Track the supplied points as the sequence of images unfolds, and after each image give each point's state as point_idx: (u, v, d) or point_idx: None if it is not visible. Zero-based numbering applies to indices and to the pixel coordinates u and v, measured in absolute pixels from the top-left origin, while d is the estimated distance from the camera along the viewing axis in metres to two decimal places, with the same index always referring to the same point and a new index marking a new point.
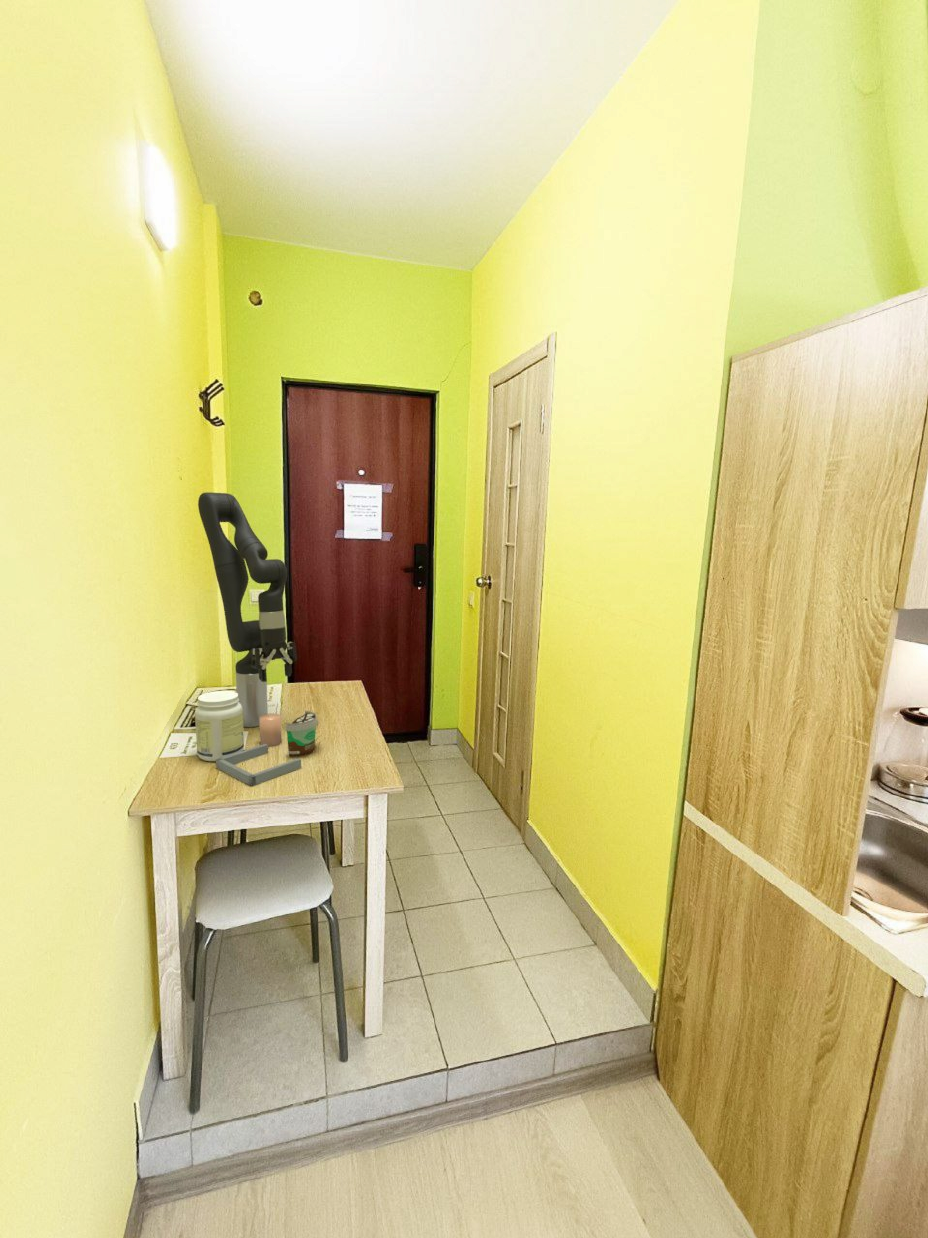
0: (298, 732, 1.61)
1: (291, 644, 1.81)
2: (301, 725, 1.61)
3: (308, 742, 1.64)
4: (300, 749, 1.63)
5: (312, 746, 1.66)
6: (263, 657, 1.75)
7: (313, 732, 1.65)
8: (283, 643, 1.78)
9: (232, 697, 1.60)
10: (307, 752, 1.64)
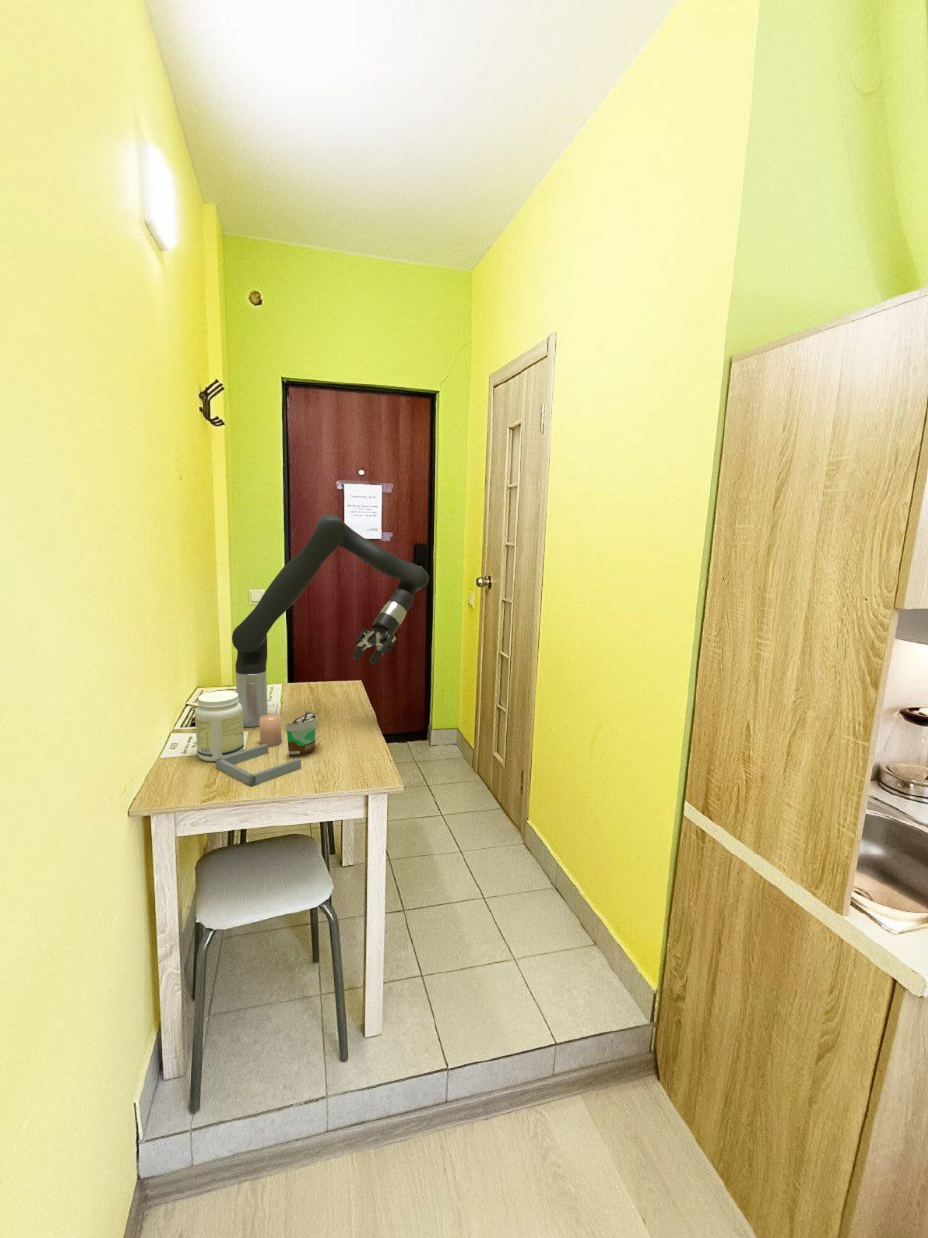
0: (298, 732, 1.61)
1: None
2: (301, 725, 1.61)
3: (308, 742, 1.64)
4: (300, 749, 1.63)
5: (312, 746, 1.66)
6: None
7: (313, 732, 1.65)
8: None
9: (232, 697, 1.60)
10: (307, 752, 1.64)
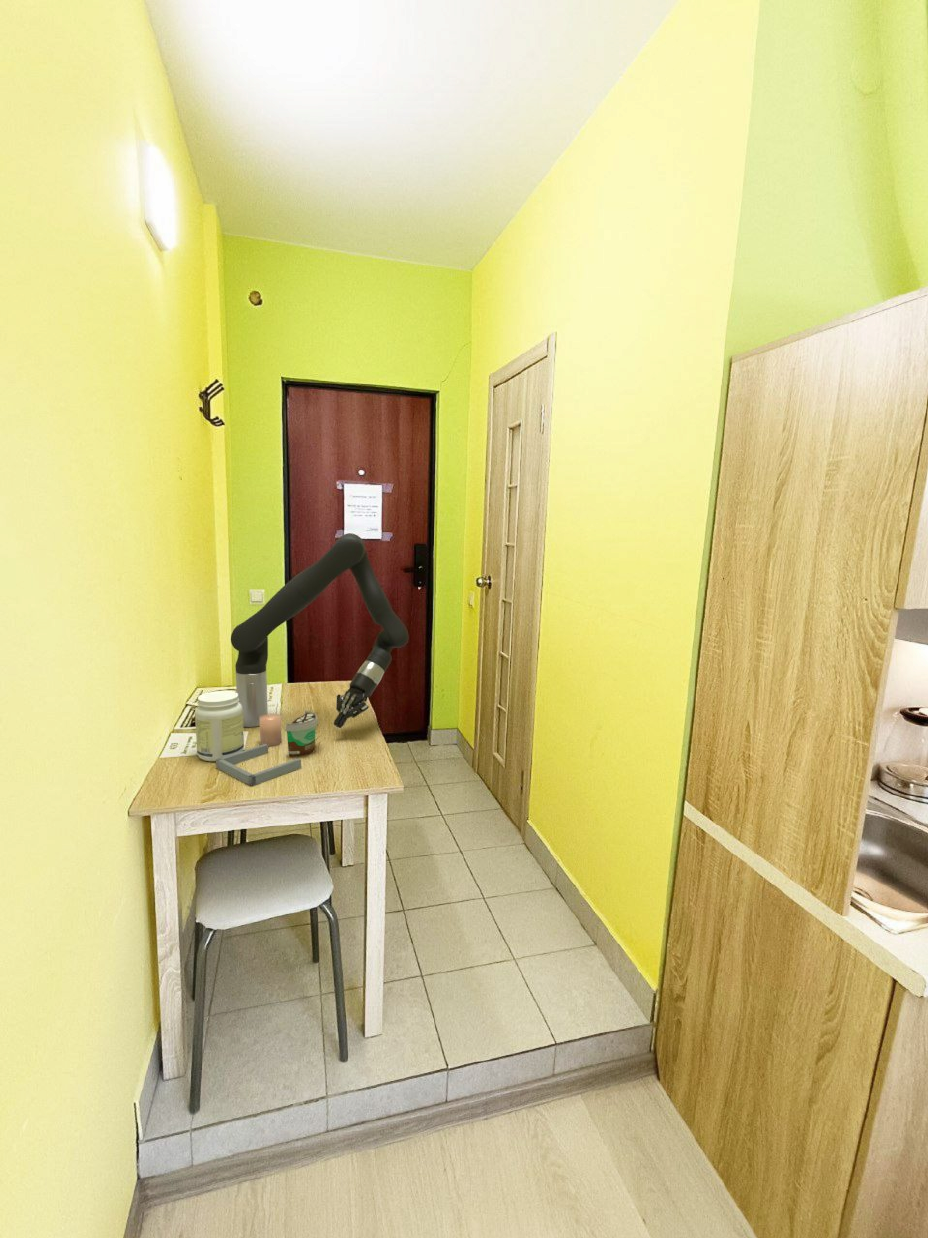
0: (298, 732, 1.61)
1: None
2: (301, 725, 1.61)
3: (308, 742, 1.64)
4: (300, 749, 1.63)
5: (312, 746, 1.66)
6: None
7: (313, 732, 1.65)
8: None
9: (232, 697, 1.60)
10: (307, 752, 1.64)
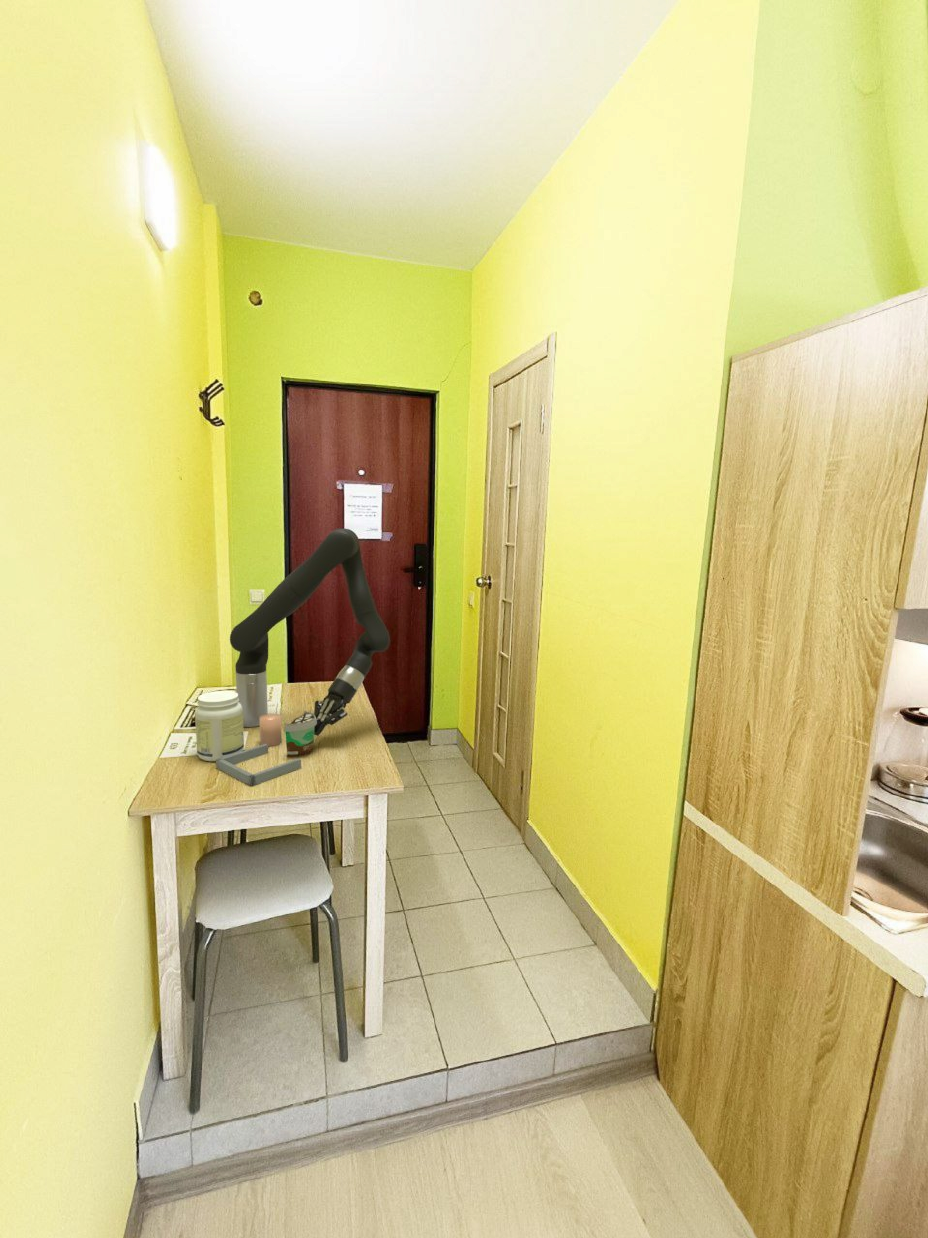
0: (296, 732, 1.61)
1: None
2: (299, 725, 1.61)
3: (306, 742, 1.64)
4: (298, 749, 1.63)
5: (311, 746, 1.66)
6: None
7: (312, 732, 1.65)
8: None
9: (232, 697, 1.60)
10: (306, 752, 1.64)
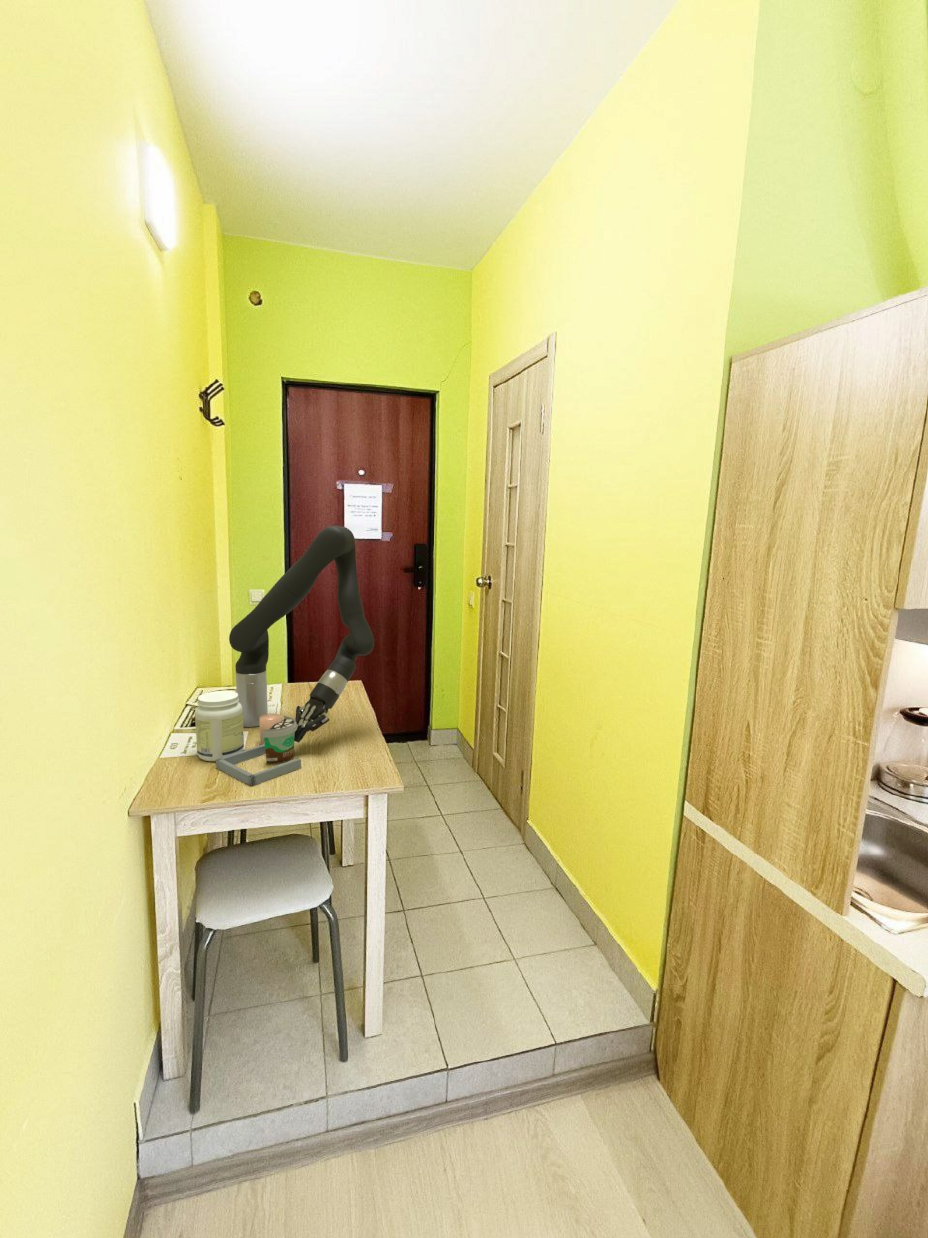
0: (276, 738, 1.56)
1: None
2: (279, 731, 1.56)
3: (286, 748, 1.59)
4: (277, 755, 1.58)
5: (291, 752, 1.61)
6: None
7: (292, 738, 1.60)
8: None
9: (232, 697, 1.60)
10: (285, 759, 1.59)
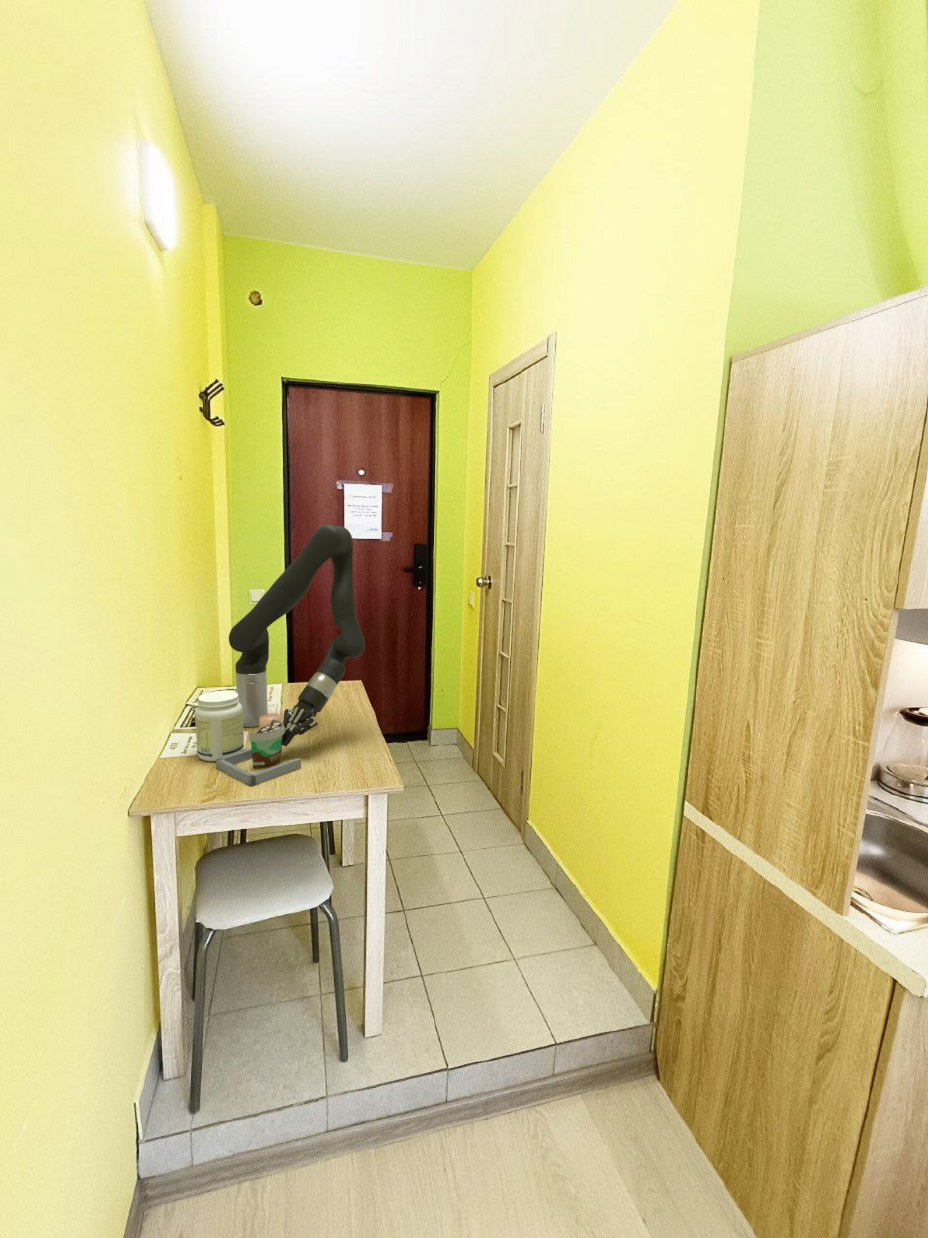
0: (263, 742, 1.54)
1: None
2: (266, 735, 1.53)
3: (274, 752, 1.56)
4: (265, 760, 1.55)
5: (278, 756, 1.58)
6: None
7: (279, 742, 1.58)
8: None
9: (232, 697, 1.60)
10: (273, 763, 1.57)
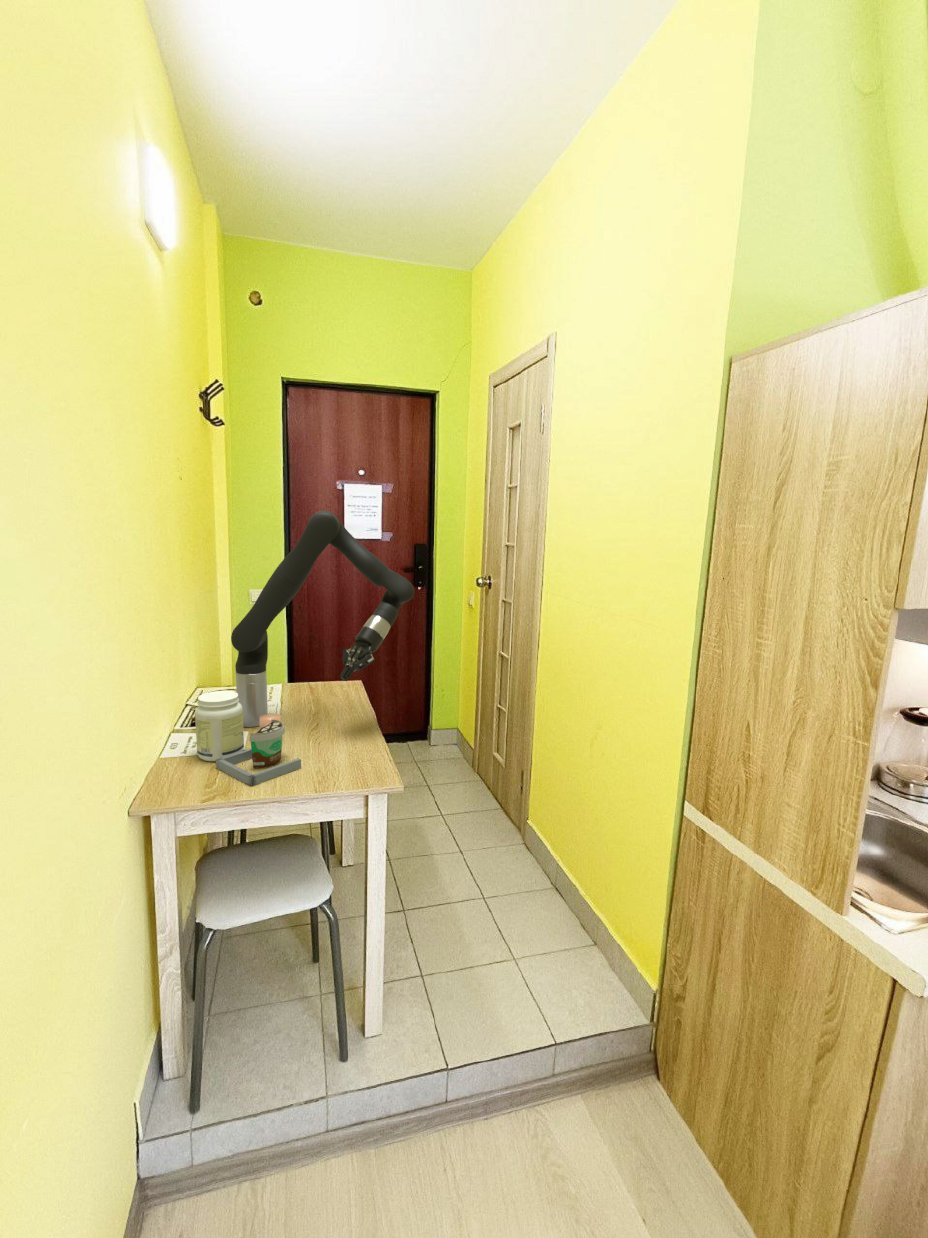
0: (263, 742, 1.54)
1: None
2: (266, 735, 1.53)
3: (274, 752, 1.56)
4: (265, 760, 1.55)
5: (278, 756, 1.58)
6: None
7: (279, 742, 1.58)
8: None
9: (232, 697, 1.60)
10: (273, 763, 1.57)
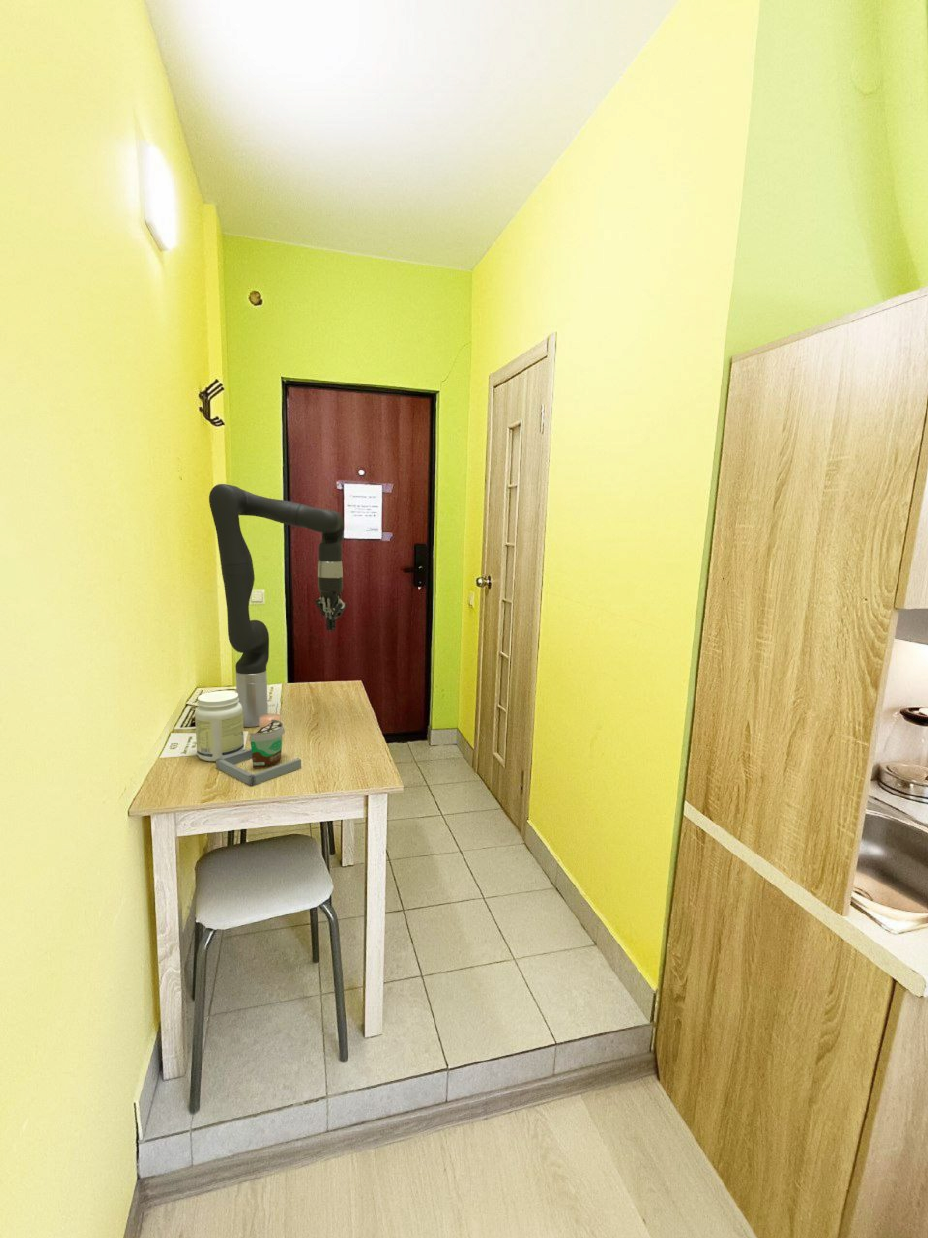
0: (263, 742, 1.54)
1: None
2: (266, 735, 1.53)
3: (274, 752, 1.56)
4: (265, 760, 1.55)
5: (278, 756, 1.58)
6: None
7: (279, 742, 1.58)
8: None
9: (232, 697, 1.60)
10: (273, 763, 1.57)
